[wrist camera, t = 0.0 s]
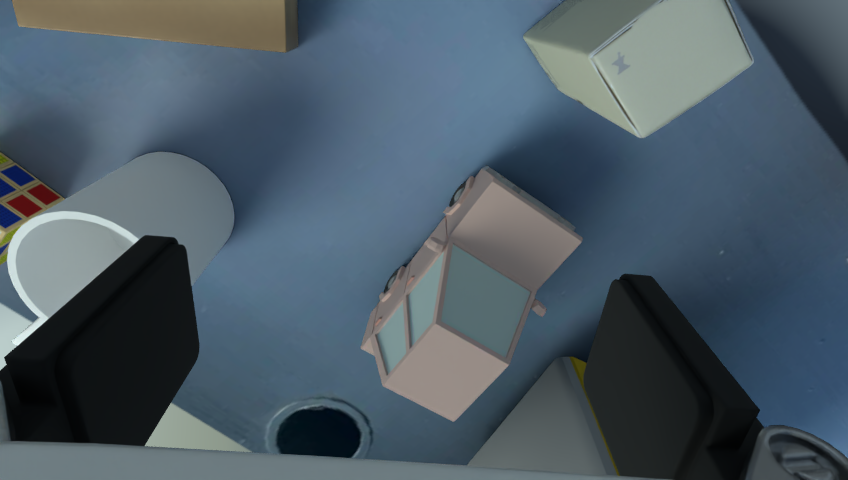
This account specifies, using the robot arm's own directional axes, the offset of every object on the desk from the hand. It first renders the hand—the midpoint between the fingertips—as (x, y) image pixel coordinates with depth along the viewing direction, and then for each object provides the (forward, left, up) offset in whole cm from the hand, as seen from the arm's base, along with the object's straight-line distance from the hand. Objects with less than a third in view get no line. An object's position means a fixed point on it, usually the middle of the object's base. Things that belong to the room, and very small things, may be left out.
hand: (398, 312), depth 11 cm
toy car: (+11, +4, -24) cm, 26 cm away
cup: (+10, -18, -24) cm, 31 cm away
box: (-5, +9, -24) cm, 26 cm away
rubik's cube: (+9, -28, -24) cm, 37 cm away
